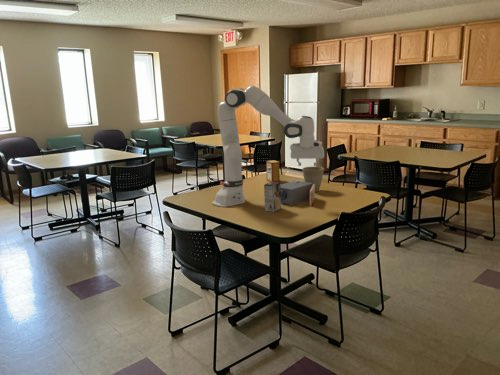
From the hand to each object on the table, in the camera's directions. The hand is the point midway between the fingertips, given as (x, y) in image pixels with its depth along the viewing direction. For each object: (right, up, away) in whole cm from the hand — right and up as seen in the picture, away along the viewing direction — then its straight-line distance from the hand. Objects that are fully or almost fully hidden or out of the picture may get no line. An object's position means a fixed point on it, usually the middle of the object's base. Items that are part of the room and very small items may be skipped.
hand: (307, 165), depth 248 cm
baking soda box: (-17, -8, +73) cm, 75 cm away
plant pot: (+9, -16, +37) cm, 42 cm away
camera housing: (-6, -21, +15) cm, 27 cm away
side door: (+5, -22, +8) cm, 24 cm away
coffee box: (-21, -27, -4) cm, 34 cm away
